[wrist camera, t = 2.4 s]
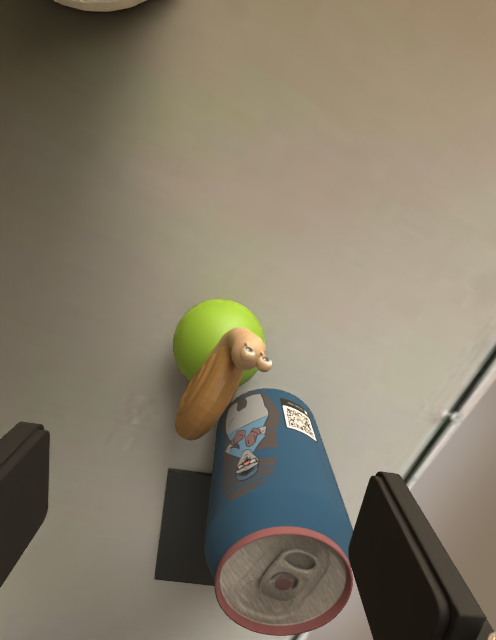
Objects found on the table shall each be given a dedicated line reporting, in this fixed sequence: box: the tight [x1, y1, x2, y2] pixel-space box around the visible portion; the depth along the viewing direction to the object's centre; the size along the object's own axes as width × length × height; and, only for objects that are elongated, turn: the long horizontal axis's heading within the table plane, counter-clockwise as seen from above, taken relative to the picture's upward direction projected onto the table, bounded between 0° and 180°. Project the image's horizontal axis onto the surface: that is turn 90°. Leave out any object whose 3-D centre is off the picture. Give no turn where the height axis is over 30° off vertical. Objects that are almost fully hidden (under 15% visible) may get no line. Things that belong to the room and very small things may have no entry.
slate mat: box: [155, 469, 215, 586], centre depth 29 cm, size 11×11×1 cm
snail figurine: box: [173, 299, 272, 440], centre depth 18 cm, size 5×6×12 cm
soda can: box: [204, 389, 353, 636], centre depth 21 cm, size 7×7×12 cm
